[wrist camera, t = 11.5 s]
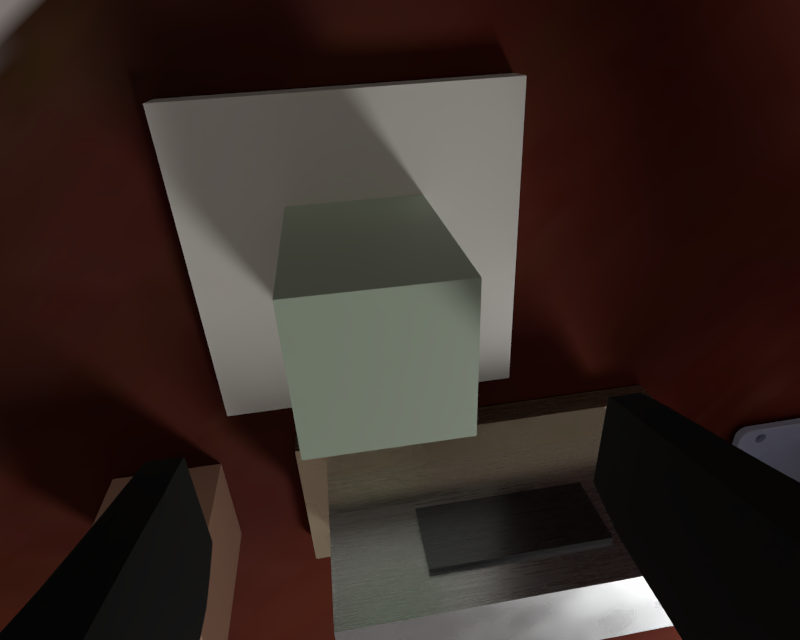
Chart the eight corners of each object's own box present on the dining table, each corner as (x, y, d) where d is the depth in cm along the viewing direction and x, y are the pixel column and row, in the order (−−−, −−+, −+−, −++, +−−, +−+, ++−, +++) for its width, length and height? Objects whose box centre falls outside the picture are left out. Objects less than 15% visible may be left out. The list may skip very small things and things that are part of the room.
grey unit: (639, 384, 22) (769, 522, 16) (618, 489, 25) (720, 639, 19) (295, 433, 20) (290, 606, 14) (315, 538, 23) (319, 720, 17)
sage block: (422, 194, 15) (482, 277, 10) (425, 314, 17) (476, 436, 12) (284, 206, 15) (272, 300, 10) (303, 328, 17) (301, 460, 12)
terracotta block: (221, 463, 20) (191, 611, 15) (241, 533, 22) (221, 686, 17) (112, 478, 20) (44, 636, 15) (142, 549, 22) (91, 710, 17)
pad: (514, 73, 15) (526, 75, 14) (500, 362, 20) (509, 377, 19) (153, 99, 14) (142, 103, 13) (231, 398, 19) (227, 416, 18)
